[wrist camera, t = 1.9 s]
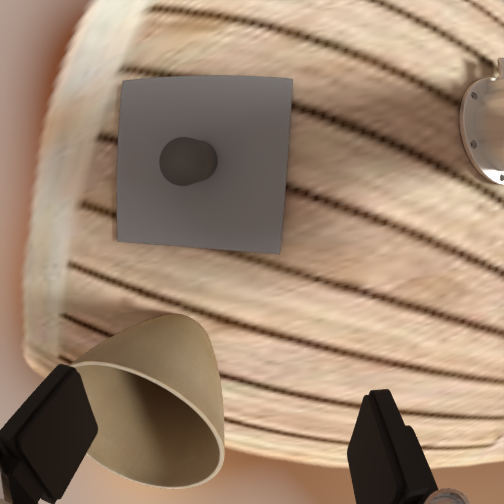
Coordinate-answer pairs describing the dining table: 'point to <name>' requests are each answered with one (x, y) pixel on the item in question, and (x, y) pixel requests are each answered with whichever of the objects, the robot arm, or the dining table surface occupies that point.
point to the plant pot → (156, 403)
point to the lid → (203, 161)
